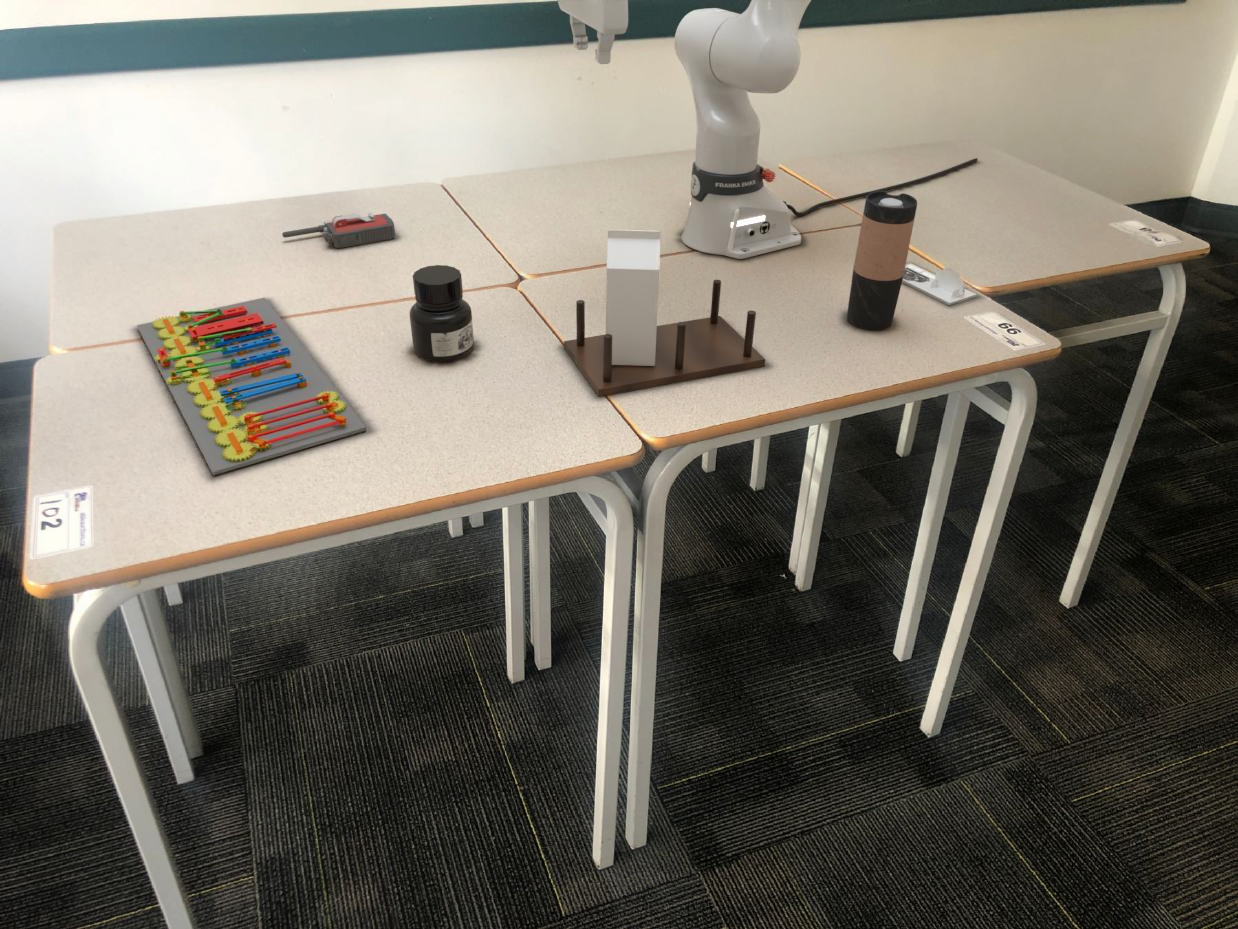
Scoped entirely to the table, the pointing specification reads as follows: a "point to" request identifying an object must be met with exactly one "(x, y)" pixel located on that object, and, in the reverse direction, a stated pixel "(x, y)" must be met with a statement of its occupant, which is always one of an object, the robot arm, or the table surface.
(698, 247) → the robot arm
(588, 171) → the table surface
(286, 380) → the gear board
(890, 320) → the travel mug
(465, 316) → the ink bottle
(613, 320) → the milk carton
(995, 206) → the table surface
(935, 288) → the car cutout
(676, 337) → the peg rack
